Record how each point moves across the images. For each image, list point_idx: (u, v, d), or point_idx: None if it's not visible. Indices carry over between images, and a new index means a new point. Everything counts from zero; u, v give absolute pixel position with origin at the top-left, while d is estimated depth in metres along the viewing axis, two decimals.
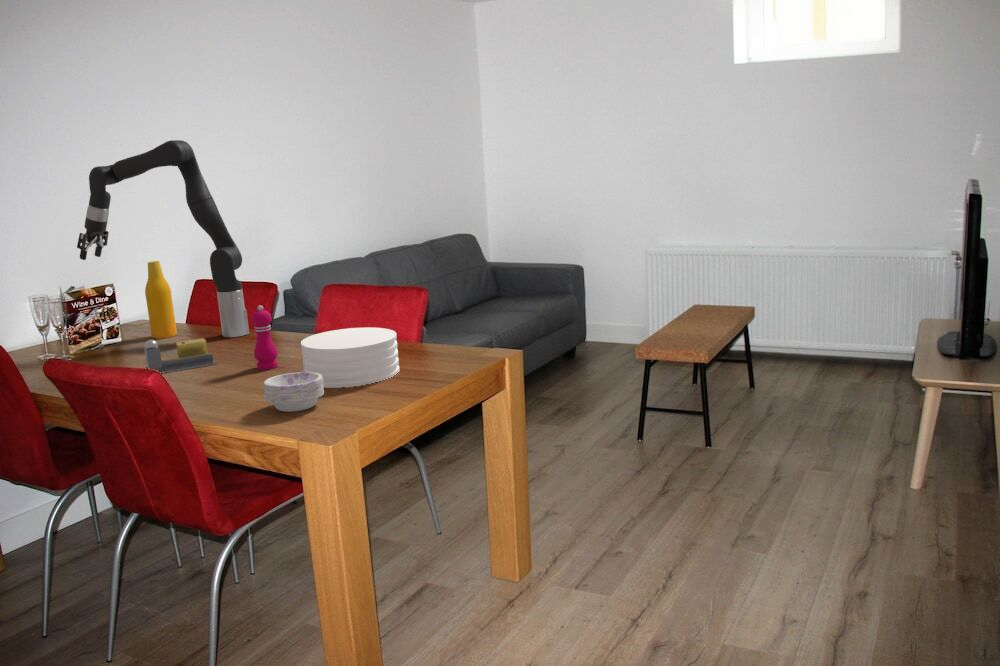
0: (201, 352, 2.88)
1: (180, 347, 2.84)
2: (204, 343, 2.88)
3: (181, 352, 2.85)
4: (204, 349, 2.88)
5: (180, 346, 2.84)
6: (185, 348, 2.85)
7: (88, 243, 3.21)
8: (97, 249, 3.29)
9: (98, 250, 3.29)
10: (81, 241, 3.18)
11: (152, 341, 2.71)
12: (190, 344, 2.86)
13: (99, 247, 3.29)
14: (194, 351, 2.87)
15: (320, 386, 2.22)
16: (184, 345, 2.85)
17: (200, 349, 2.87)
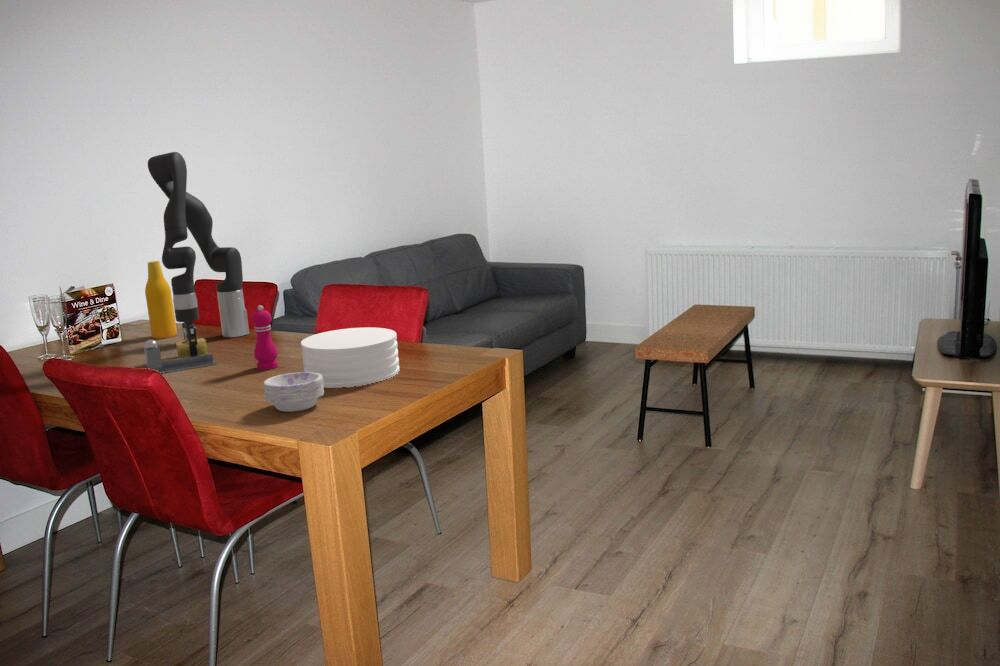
0: (201, 352, 2.88)
1: (180, 347, 2.84)
2: (204, 343, 2.88)
3: (181, 352, 2.85)
4: (204, 349, 2.88)
5: (180, 346, 2.84)
6: (185, 348, 2.85)
7: None
8: None
9: None
10: (193, 336, 2.82)
11: (152, 341, 2.71)
12: None
13: None
14: None
15: (320, 386, 2.22)
16: (184, 345, 2.85)
17: (200, 349, 2.87)
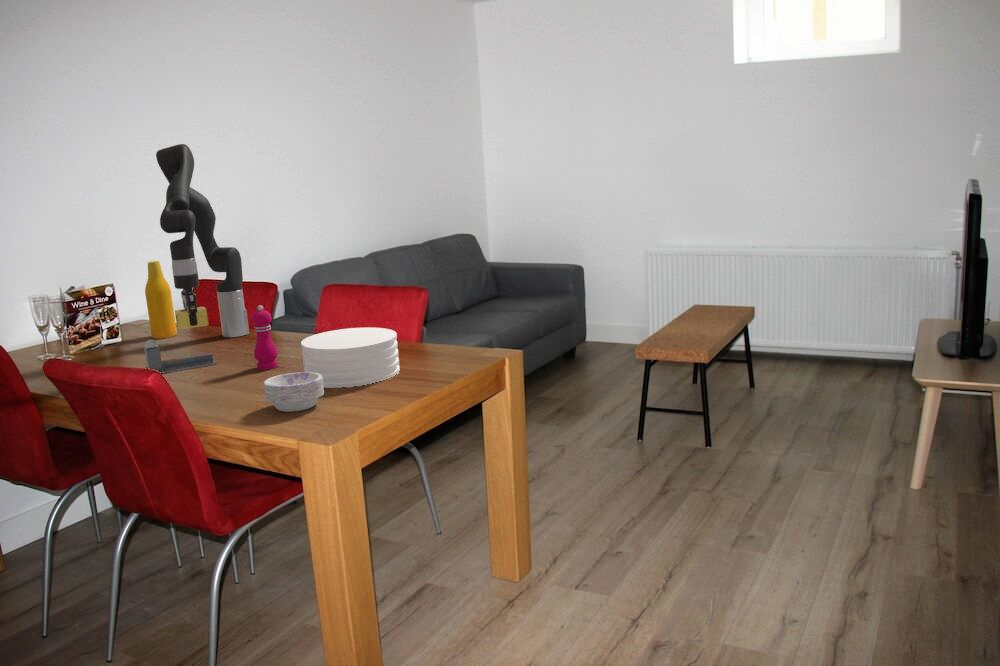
0: (201, 320, 2.75)
1: (179, 315, 2.72)
2: (204, 311, 2.75)
3: (180, 320, 2.72)
4: (204, 317, 2.76)
5: (179, 314, 2.72)
6: (184, 316, 2.73)
7: None
8: None
9: None
10: (193, 304, 2.70)
11: (152, 341, 2.71)
12: None
13: None
14: None
15: (320, 386, 2.22)
16: (183, 313, 2.72)
17: (200, 317, 2.75)
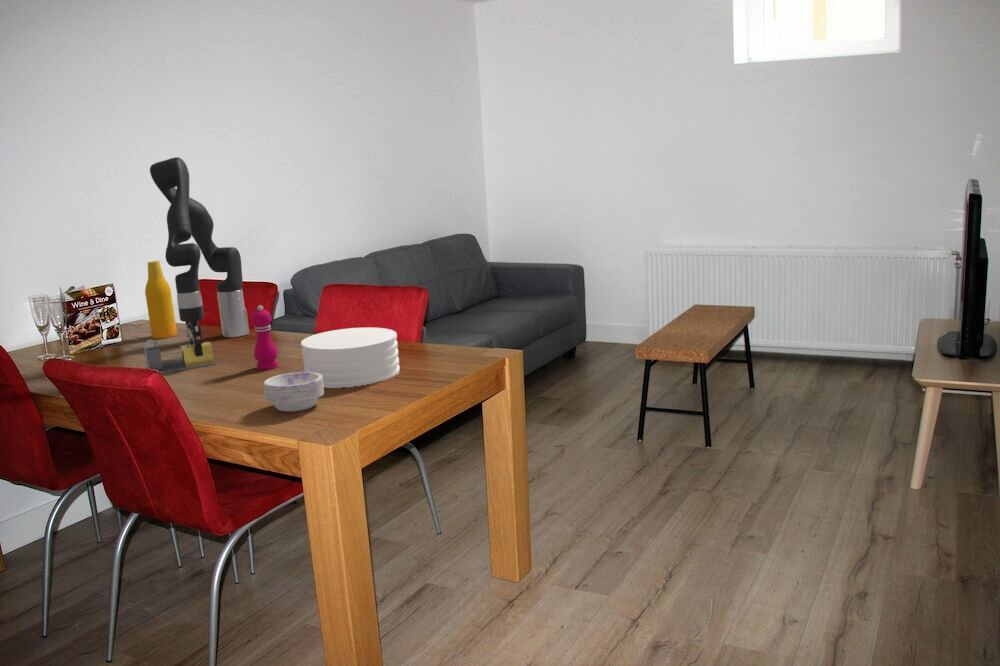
0: (206, 356, 2.78)
1: (185, 351, 2.75)
2: (209, 347, 2.78)
3: (186, 356, 2.75)
4: (210, 353, 2.78)
5: (185, 350, 2.75)
6: (190, 352, 2.75)
7: (199, 335, 2.75)
8: (193, 343, 2.82)
9: None
10: (198, 334, 2.72)
11: (152, 341, 2.71)
12: None
13: None
14: None
15: (320, 386, 2.22)
16: (189, 349, 2.75)
17: (205, 353, 2.78)
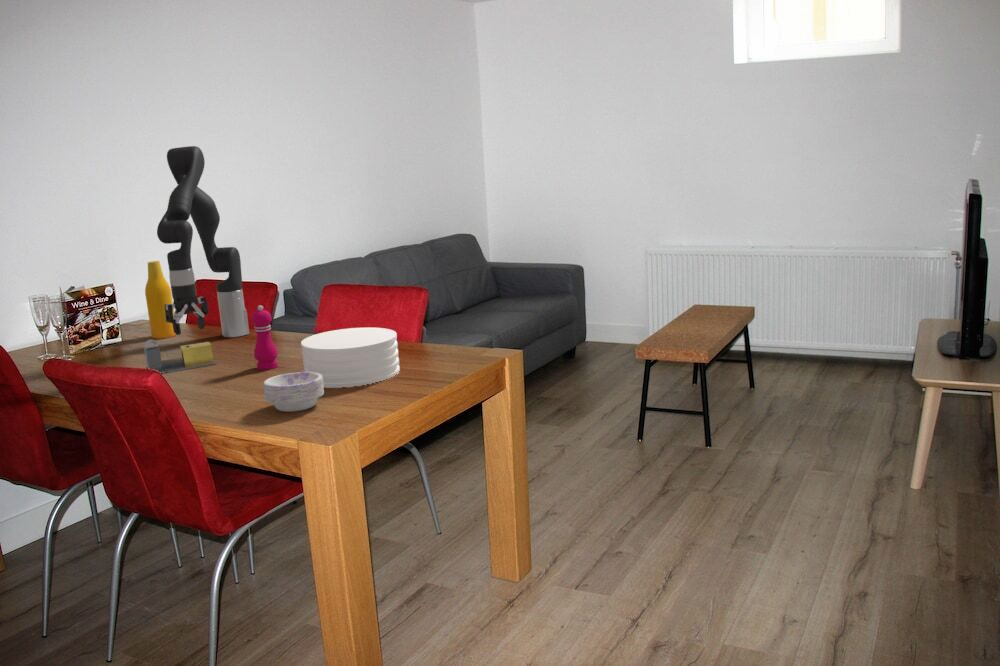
0: (206, 356, 2.78)
1: (184, 351, 2.75)
2: (209, 347, 2.78)
3: (185, 356, 2.75)
4: (209, 353, 2.78)
5: (184, 350, 2.75)
6: (189, 352, 2.75)
7: (178, 314, 2.73)
8: (198, 320, 2.80)
9: (199, 321, 2.80)
10: (167, 313, 2.71)
11: (152, 341, 2.71)
12: (195, 348, 2.76)
13: (199, 317, 2.80)
14: (199, 355, 2.77)
15: (320, 386, 2.22)
16: (188, 349, 2.75)
17: (205, 353, 2.78)
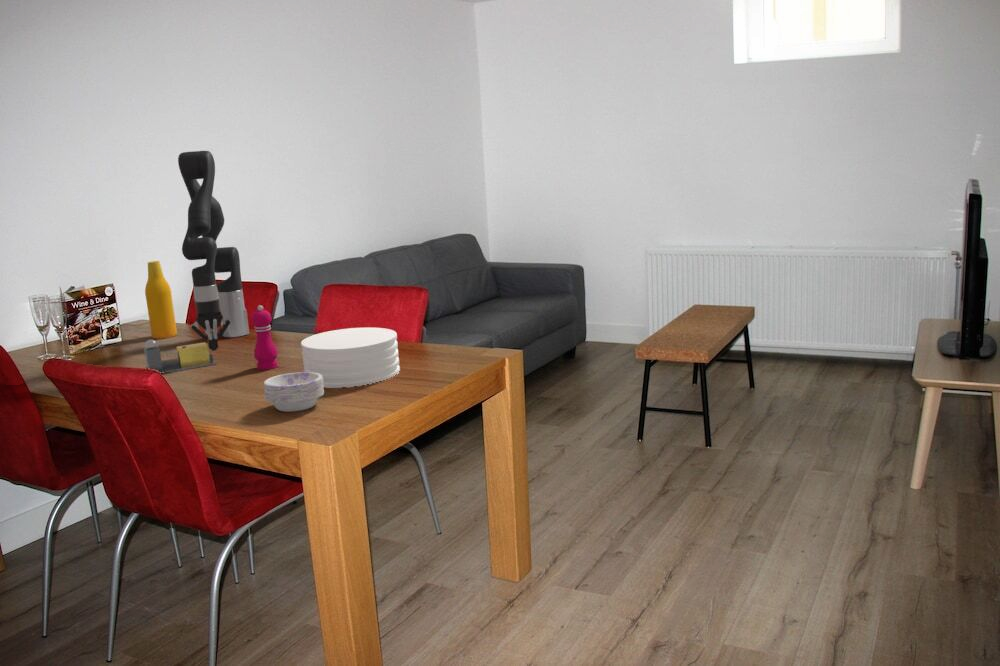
0: (202, 357, 2.78)
1: (180, 352, 2.74)
2: (205, 347, 2.77)
3: (181, 357, 2.74)
4: (205, 354, 2.78)
5: (180, 351, 2.74)
6: (186, 353, 2.75)
7: (206, 331, 2.78)
8: None
9: None
10: (196, 332, 2.78)
11: (152, 341, 2.71)
12: (191, 348, 2.75)
13: (212, 339, 2.80)
14: (195, 355, 2.76)
15: (320, 386, 2.22)
16: (185, 349, 2.75)
17: (201, 354, 2.77)
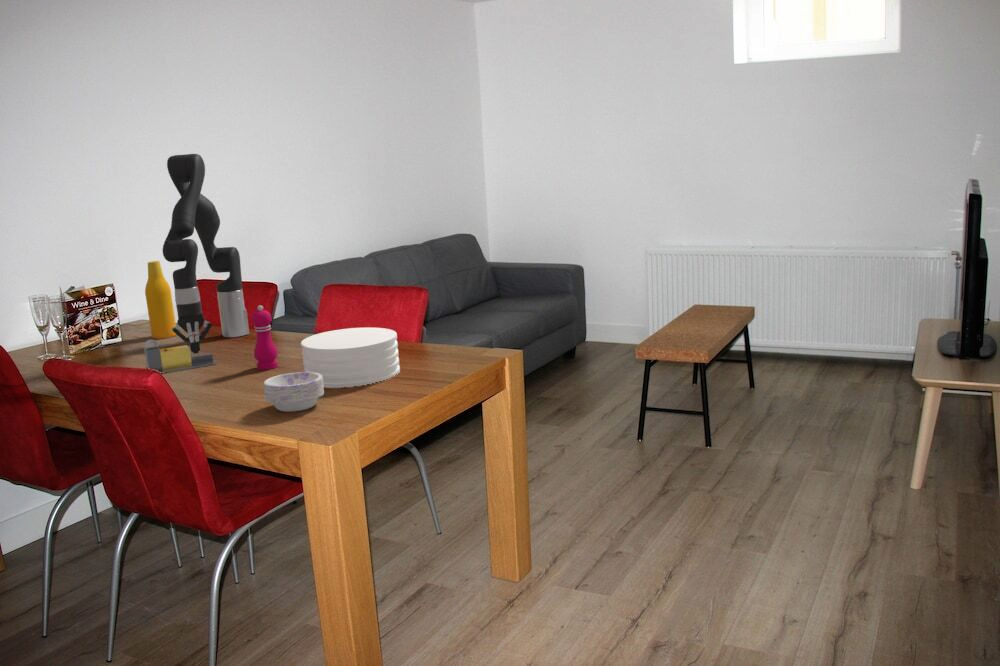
0: (184, 360, 2.75)
1: (162, 355, 2.71)
2: (187, 350, 2.75)
3: (163, 360, 2.72)
4: (187, 357, 2.75)
5: (162, 353, 2.71)
6: (167, 356, 2.72)
7: (188, 334, 2.76)
8: None
9: None
10: (178, 335, 2.75)
11: (152, 341, 2.71)
12: (172, 351, 2.73)
13: (194, 341, 2.78)
14: (177, 358, 2.74)
15: (320, 386, 2.22)
16: (166, 352, 2.72)
17: (183, 357, 2.75)
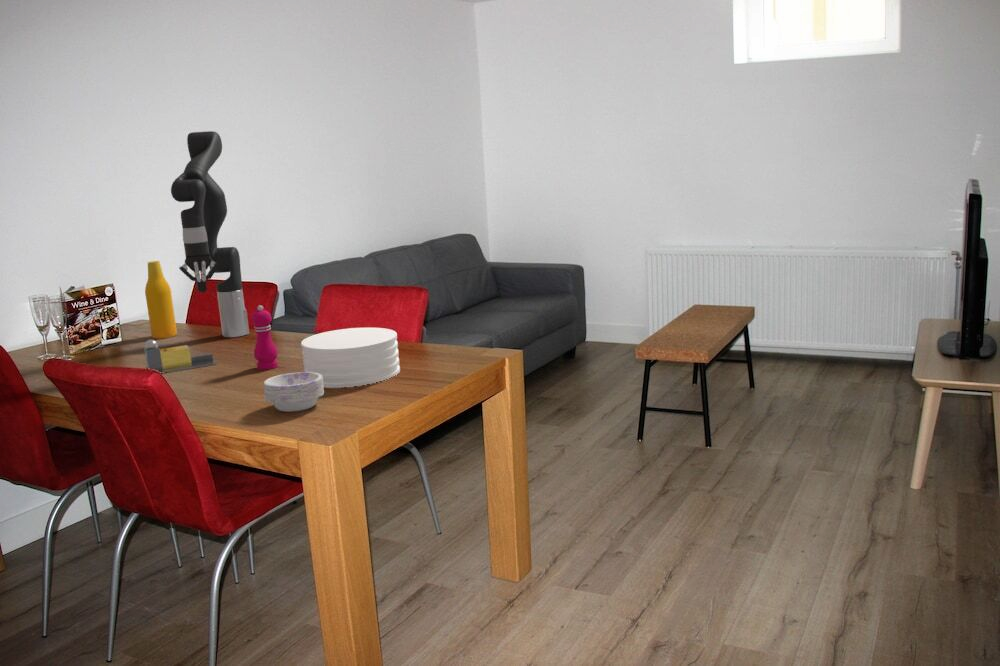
0: (184, 360, 2.75)
1: (162, 355, 2.71)
2: (187, 350, 2.75)
3: (163, 360, 2.72)
4: (187, 357, 2.75)
5: (162, 353, 2.71)
6: (167, 356, 2.72)
7: (195, 273, 2.82)
8: None
9: None
10: (185, 274, 2.81)
11: (152, 341, 2.71)
12: (172, 351, 2.73)
13: (201, 281, 2.83)
14: (177, 358, 2.74)
15: (320, 386, 2.22)
16: (166, 352, 2.72)
17: (183, 357, 2.75)
